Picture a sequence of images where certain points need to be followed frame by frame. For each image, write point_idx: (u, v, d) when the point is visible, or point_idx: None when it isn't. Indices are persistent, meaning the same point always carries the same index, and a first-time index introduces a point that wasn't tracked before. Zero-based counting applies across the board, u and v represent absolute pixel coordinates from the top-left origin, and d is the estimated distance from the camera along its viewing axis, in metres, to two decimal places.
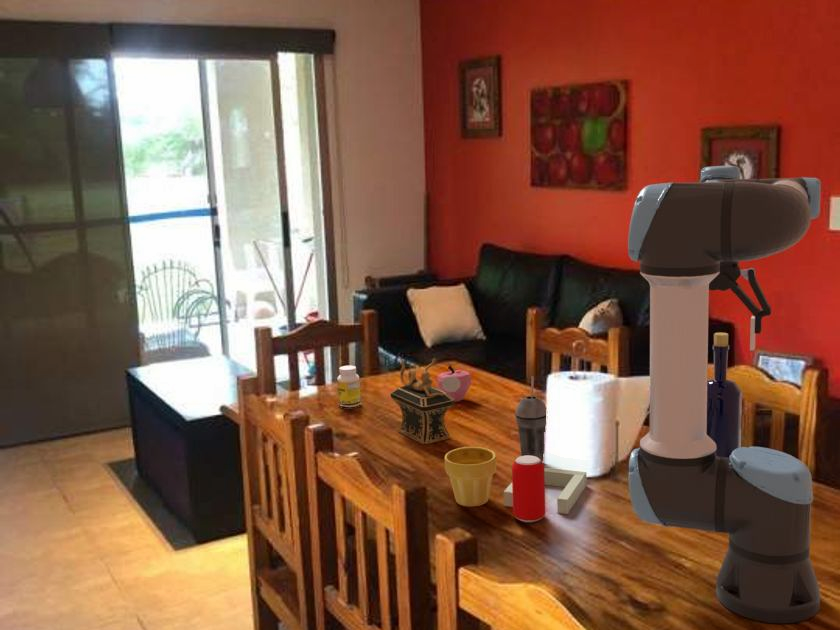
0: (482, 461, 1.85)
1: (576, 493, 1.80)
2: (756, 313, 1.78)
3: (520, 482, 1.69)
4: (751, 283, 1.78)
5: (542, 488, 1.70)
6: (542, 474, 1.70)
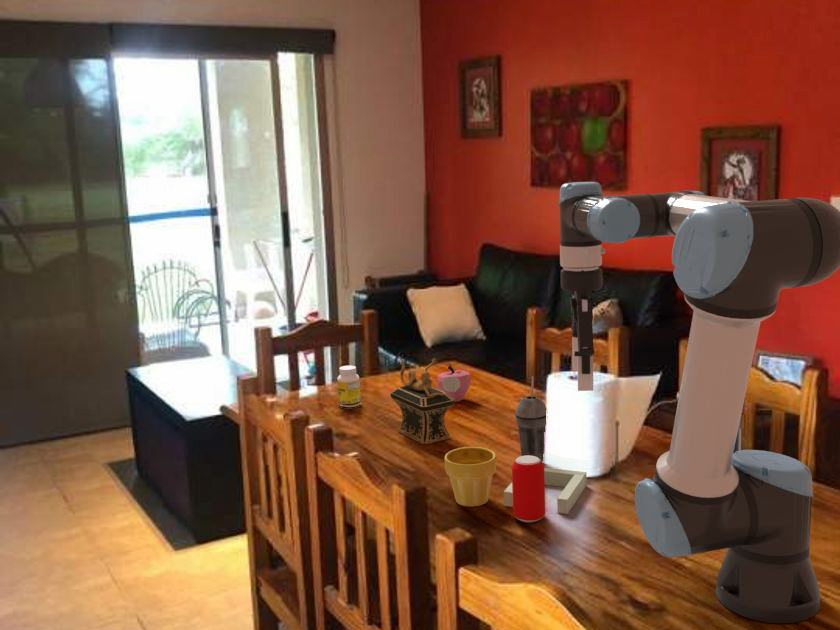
0: (482, 461, 1.85)
1: (576, 493, 1.80)
2: (578, 350, 1.59)
3: (520, 482, 1.69)
4: None
5: (542, 488, 1.70)
6: (542, 474, 1.70)
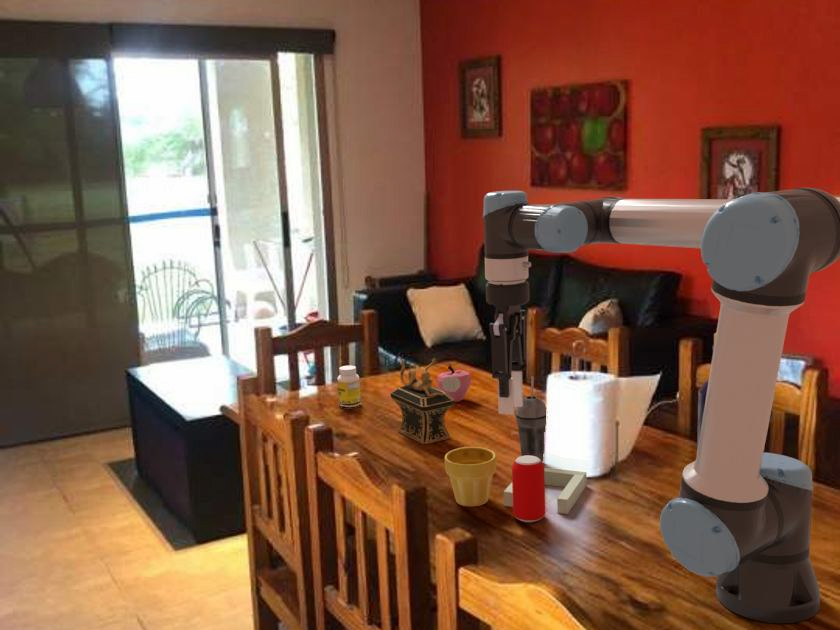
0: (482, 461, 1.85)
1: (576, 493, 1.80)
2: None
3: (520, 482, 1.69)
4: None
5: (542, 488, 1.70)
6: (542, 474, 1.70)
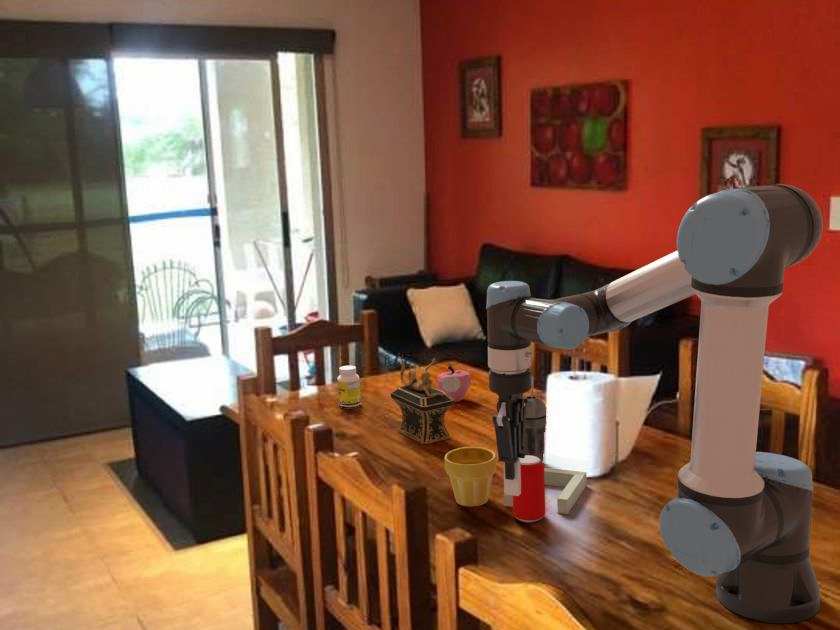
0: (482, 461, 1.85)
1: (576, 493, 1.80)
2: None
3: None
4: None
5: (542, 488, 1.70)
6: (542, 474, 1.70)
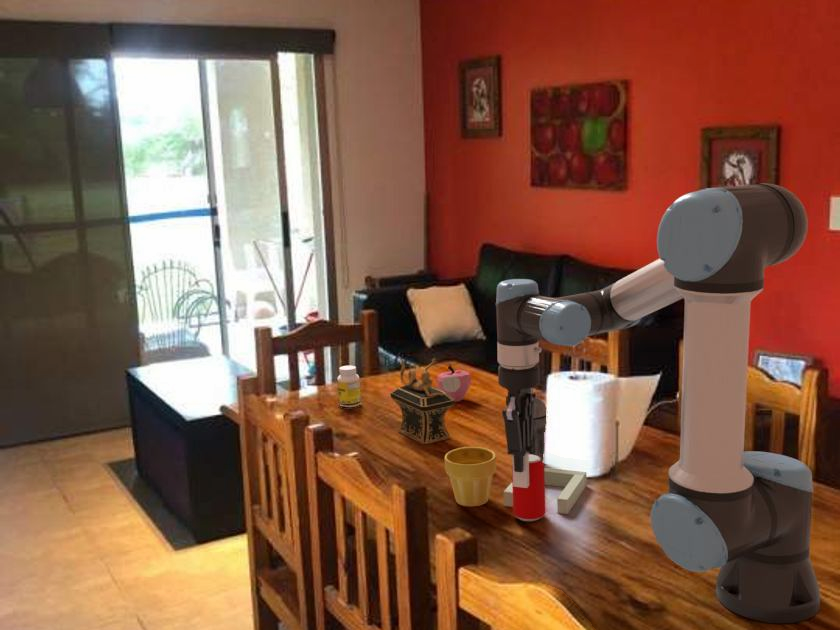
0: (482, 461, 1.85)
1: (576, 493, 1.80)
2: None
3: None
4: None
5: (542, 487, 1.70)
6: (542, 472, 1.70)
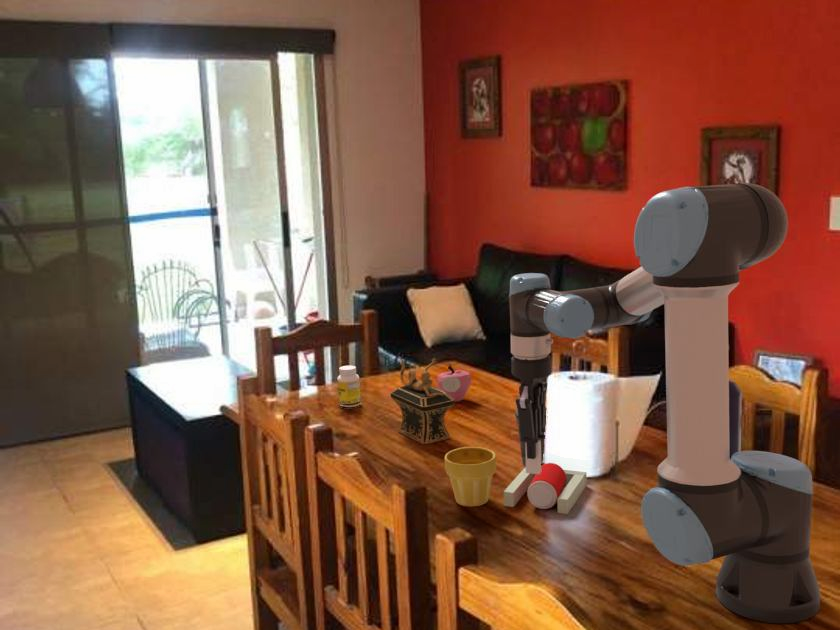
0: (482, 461, 1.85)
1: (576, 493, 1.80)
2: None
3: (557, 469, 1.82)
4: None
5: None
6: None
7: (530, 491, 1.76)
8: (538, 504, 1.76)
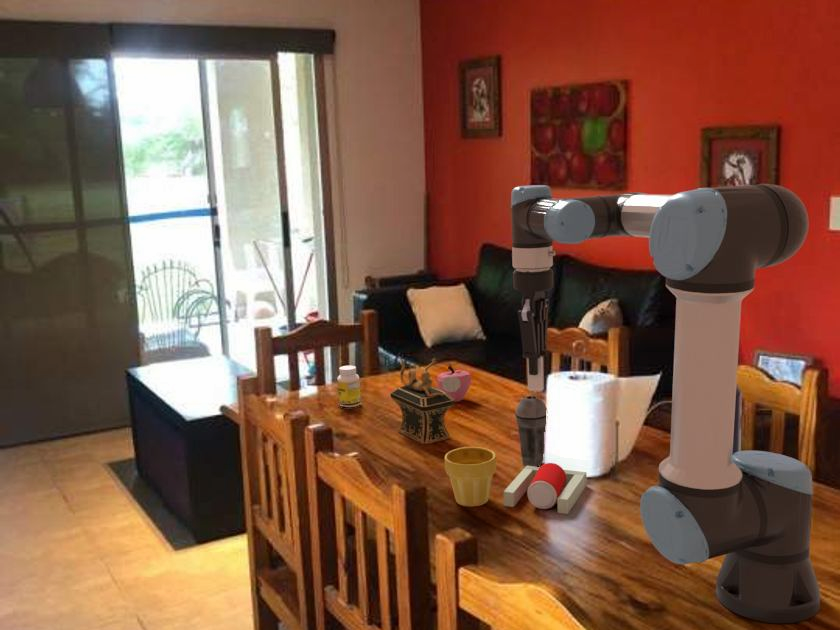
0: (482, 461, 1.85)
1: (576, 493, 1.80)
2: None
3: (557, 469, 1.82)
4: None
5: None
6: None
7: (530, 491, 1.76)
8: (538, 504, 1.76)
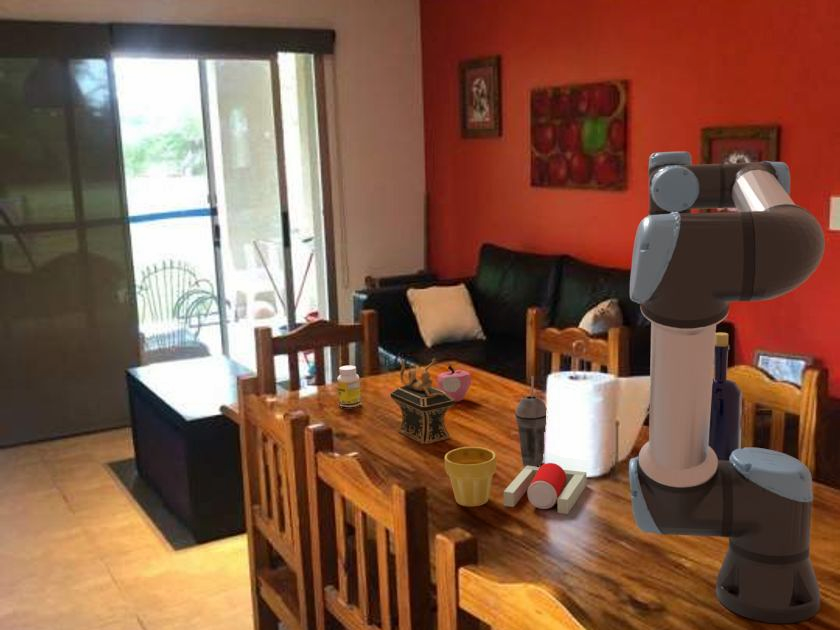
0: (482, 461, 1.85)
1: (576, 493, 1.80)
2: None
3: (557, 469, 1.82)
4: None
5: None
6: None
7: (530, 491, 1.76)
8: (538, 504, 1.76)
